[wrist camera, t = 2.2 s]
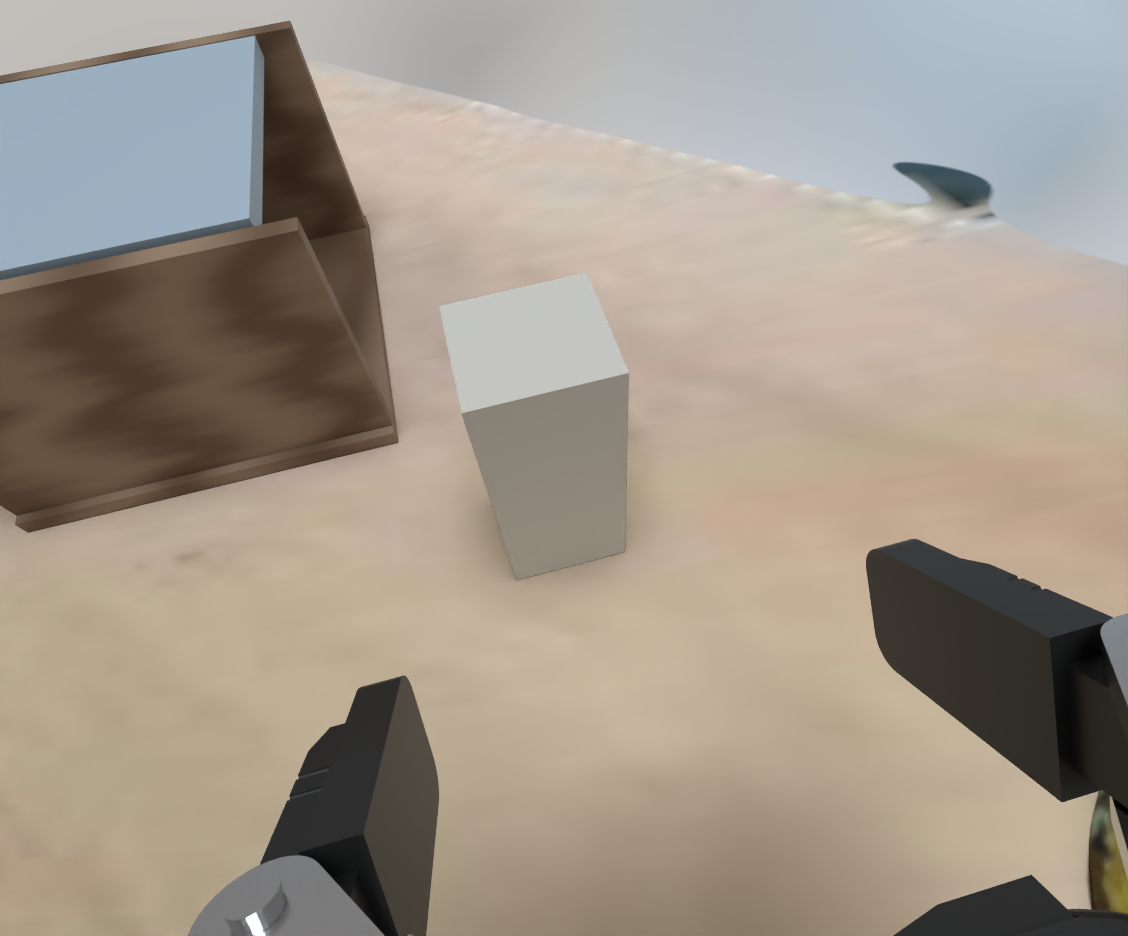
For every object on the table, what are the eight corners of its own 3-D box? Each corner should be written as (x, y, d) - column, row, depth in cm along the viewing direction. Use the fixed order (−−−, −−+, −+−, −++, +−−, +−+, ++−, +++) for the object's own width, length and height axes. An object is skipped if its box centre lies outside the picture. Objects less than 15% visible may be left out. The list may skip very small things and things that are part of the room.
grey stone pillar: (516, 580, 29) (461, 413, 19) (496, 494, 31) (438, 306, 21) (625, 551, 29) (628, 372, 19) (597, 469, 32) (587, 272, 21)
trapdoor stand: (27, 532, 32) (-259, 359, 21) (85, 287, 42) (-90, 88, 31) (398, 442, 33) (298, 239, 23) (368, 226, 43) (290, 16, 33)
